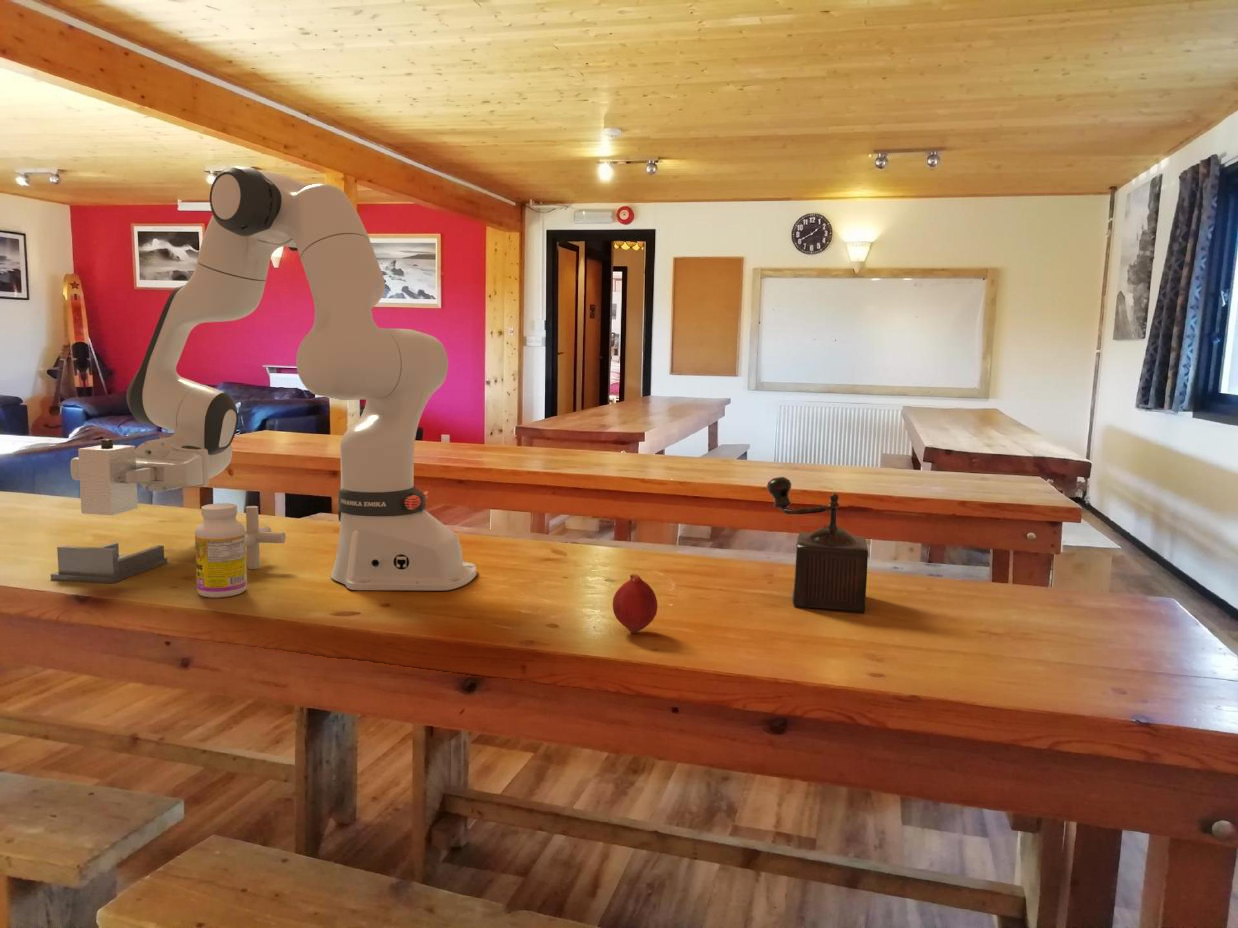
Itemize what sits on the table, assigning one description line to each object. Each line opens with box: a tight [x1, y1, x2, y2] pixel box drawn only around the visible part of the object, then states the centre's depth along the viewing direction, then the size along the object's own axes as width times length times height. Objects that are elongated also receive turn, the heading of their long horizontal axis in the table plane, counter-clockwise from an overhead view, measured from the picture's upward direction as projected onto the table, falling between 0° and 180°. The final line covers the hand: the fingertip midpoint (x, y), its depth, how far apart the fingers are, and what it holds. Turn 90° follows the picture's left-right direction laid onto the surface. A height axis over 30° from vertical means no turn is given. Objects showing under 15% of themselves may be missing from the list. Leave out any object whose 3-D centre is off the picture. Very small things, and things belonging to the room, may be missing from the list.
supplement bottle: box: [194, 502, 248, 599], centre depth 125 cm, size 7×7×13 cm
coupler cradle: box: [50, 542, 168, 584], centre depth 136 cm, size 10×13×5 cm
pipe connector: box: [245, 505, 287, 570], centre depth 140 cm, size 10×10×10 cm
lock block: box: [77, 438, 139, 516], centre depth 135 cm, size 5×6×11 cm
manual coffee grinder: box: [766, 476, 869, 614], centre depth 130 cm, size 16×11×18 cm
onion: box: [612, 573, 659, 634], centre depth 113 cm, size 6×6×8 cm
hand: (104, 476), depth 134 cm, fingers closed on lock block, 5 cm apart
